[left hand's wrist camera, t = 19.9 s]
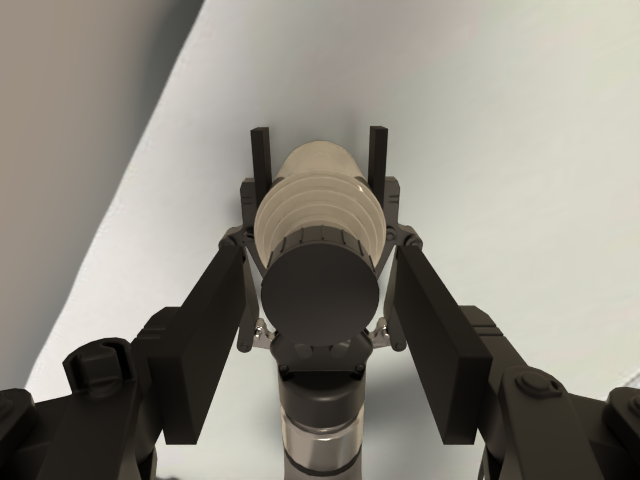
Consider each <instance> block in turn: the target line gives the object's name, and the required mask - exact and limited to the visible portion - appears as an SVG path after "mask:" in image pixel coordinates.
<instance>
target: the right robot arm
mask: <svg viewBox="0 0 640 480" xmlns="http://www.w3.org/2000/svg"><path fill="white" fill-rule="evenodd" d="M250 131H251V143H252V156H253V168H254V178H246V179H245V180H244V181H243V182H242V185H241V188H240V195H241V203H242V204H241V205H242V215H243V225H241V226H239V227H232V228H230V229H229V230H228V231H227V232H226V233H225V235H224V236H223V238H222V239H221V241H220V242H219V249H220V248H221V246H222V245H241V248H242V259H243V270H244V282H245V293H246V304H247V305H246V308H245V310H244V313H243V316H242V319H241V321H240V324H239V334H238V341H237V349H238V350H239V351H240V352H243V353H247V352H249V351H250V350H251V348H252V346H253V347H259V348H265V349H270V352H271V354H272V355H273V357H274V358H275V359H276V361H277V366H278V379H279V394H280V402H281V405H280V410H281V422H282V433H283V445H284V467H285V475H284V480H362V473H361V447H362V437H363V423H364V397H365V378H366V362H367V360H368V358H369V356H370V355H371V354H372V352H373V349H375V348H380V347H385V346H391V347H392V349H393V350H394V351H397V352H400V351H403V350H404V349H405V348H406V346H407V343H406V338H405V335H404V333H403V330H402V327H401V324H400V321H399V319H398V316H397V313H396V310H395V308H394V305H393V304H394V293H395V282H396V270H397V259H398V248H399V245H418V246H419V248H420V249H421V251H422V247H423V242H422V240H421V238H420V237H419V236H418V234H417V233H416V232H415V230H414V229H413V228H412V227H411V226H404V225H401V224H398V208H399V195H400V187H399V184H398V181H397V180H396V179H395V178H394V177H385V172H386V155H387V138H388V129H387V128H385V127H382V126H370V141H369V166H368V185H369V186H370V188H371V190H372V192H373V193H374V195H375V197H376V199H377V200H378V202H379V204H380V206H381V208H382V211H383V214H384V217H385V223H386V239H385V245H384V248H383V251H382V254H381V257H380V259H379V261H378V264H377V265H376V267H375V271H376V272H374V273H375V276H376V279H377V280H378V278H379V276H380V274H381V272H382V270H383V268H384V265H385V263H386V261H387V259H388V257H389V255H390V253H391V251H392V249H393V247H394V245H396V248H395V253H394V258H393V263H392V267H391V272H390V277H389V282H388V287H387V292H386V297H385V301H384V308H383V314H384V317H381V318H379V321H378V322H377V324H376V329H375V330H374V331H373V332H369V331H368V330H367V329H366V328H365V329H364V330H363V331H361V332H360V333H359V334H358V335H356V336H355V337H353V338H351V339H349V340H347V341H345V342H342V343H340V344H336V345H331V346H309V345H304V344H301V343H298V342H295V341H293V340H291V339H289V338H287V337H285V336H284V335H282V334H281V333H280V332H279V331H277V330H276V331H275V332H274V333H271V332H269V331H268V329H267V325H266V323H265V322H264V319H263V318H259V305H258V300H257V296H256V291H255V287H254V283H253V278H252V274H251V269H250V265H249V261H248V256H247V252H246V248H245V246H247V248H248V250H249V252H250V254H251V256H252V258H253V260H254V262H255V264H256V266H257V268H258V270H259V272H260V274H261V276H262V278H263V277H264V274H265V271H266V268H265V267H264V265H263V263H262V261H261V259H260V257H259V254H258V251H257V248H256V244H255V238H254V224H255V218H256V214H257V211H258V209H259V206H260V204H261V202H262V200H263V199H264V197H265V195H266V193H267V192H268V190H269V188H270V187H271V185H272V176H271V159H270V143H269V127H257V128H255V129H253V130H250Z"/></svg>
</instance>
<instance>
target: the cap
mask: <svg viewBox="0 0 640 480" xmlns="http://www.w3.org/2000/svg"><path fill="white" fill-rule="evenodd" d="M374 272H376V271H375V268H374V265H373V262H372V258H371V256H370V255H368V253H367V251H366V249H365V248H364V246H363V245H362V244H361V241H360V240H357V239H356V238H355V237H354V236H352V235H351V234H349V233H347V232H345V231H344V229H342V230H341V229H338V228H335V227H330V226H324V225H322V226H310V227H305V228H303V227H302V228H301V229H299V230H297V231H295V232H293V233H291V234H289V235H288V236H287V237H283V240H282V241H281V242H280V243H279V244H278V245H277V247H276V248H275V249H274V251H272V252H271V255H270V258H269V261H268V264H267V268H266V271H265V274H264V277H263V280H262V283H261V286H262V288H261V302H262V306H263V310H264V312H265V314H266V316H267V318H268V320H269V321H270V323H271V324H272V325H273V327H274V328H275V329H276V330H277V331H279V332H280V333H281V334H282V335H284V336H285V337H287V338H289V339H291V340H293V341H295V342H298V343H301V344H304V345H309V346H331V345H336V344H340V343H342V342H345V341H347V340H349V339H351V338H353V337H355V336H356V335H358V334H359V333H360V332H361V331H363V330H364V329H365V328H366V327H367V326H368V324H369V323H370V322H371V320H372V319H373V317H374V315H375V313H376V310H377V307H378V302H379V286H378V283H377V279H376V276H375V273H374Z"/></svg>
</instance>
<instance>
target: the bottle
mask: <svg viewBox="0 0 640 480" xmlns="http://www.w3.org/2000/svg"><path fill="white" fill-rule="evenodd" d="M322 225H324V226H330V227H335V228H338V229H341V230H342V229H344V231H345V232H347V233H349V234H351V235H352V236H354V237H355V238H356V239H357V240H360V241H361V244H362V245H363V246H364V248H365V249H366V251H367V253H368V255H370V256H371V258H372V262H373V265H374V268H375V267H376V265H377V264H378V261H379V259H380V257H381V254H382V251H383V248H384V245H385V239H386V223H385V217H384V214H383V211H382V208H381V206H380V204H379V202H378V200H377V199H376V197H375V195H374V193H373V192H372V190H371V188H370V186H369V185H368V183H367V181H366V179H365V178H364V176H363V174H362V173H361V171H360V169H359V167H358V166H357V164H356V162H355V160H354V159H353V157H352V156H351V155H350V154H349V153H348V152H347V151H346V150H345V149H344V148H342V147H341V146H339V145H337V144H334V143H332V142H327V141H313V142H309V143H306V144H303V145H301V146H299V147H298V148H296V149H295V150H294V151H293V152H292V153H291V154H290V155H289V156H288V157H287V159H286V161H285V162H284V164H283V166H282V167H281V169H280V171H279V173H278V174H277V176H276V178H275V180H274V181H273V183H272V185H271V187H270V188H269V190H268V192H267V193H266V195H265V197H264V199H263V200H262V202H261V204H260V206H259V209H258V211H257V214H256V218H255V224H254V238H255V244H256V248H257V251H258V254H259V257H260V259H261V261H262V263H263V265H264V267H265V268H267V264H268V261H269V258H270V255H271V252H272V251H274V249H275V248H276V247H277V245H278V244H279V243H280V242H281V241H282V240H283V237H287V236H288V235H289V234H291V233H293V232H295V231H297V230H299V229H301V228H302V227H303V228H305V227H310V226H322Z"/></svg>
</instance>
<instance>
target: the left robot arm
mask: <svg viewBox="0 0 640 480" xmlns="http://www.w3.org/2000/svg"><path fill="white" fill-rule="evenodd" d="M246 305H247V304H246V293H245V282H244V270H243V259H242V248H241V245H222V246H221V248H220V249H219V251H218V252H217V254H216V255H215V257H214V258H213V260H212V261H211V263H210V264H209V266H208V267H207V269H206V270H205V272H204V273H203V275H202V276H201V278H200V279H199V281H198V282H197V284H196V285H195V286H194V288H193V289H192V291H191V292H190V294H189V295H188V297H187V298H186V300H185V301H184V303H183V304H182V306H181V307H165V308H163V309H162V310H160V311H159V312H157V313H156V314H154V315H153V316H152V317H151V318H150V319H149V321H148V322H147V323H146V324H145V326H144V329H142V330H141V331H140V332H139V333H138V335H137V338H135V339H134V340H133V341H132V342H131V344H130V343H129V342H128V341H127V340H125V339H122V338H117V337H114V338H103V339H99V340H96V341H92V342H90V343H87V344H85V345H83V346H81V347H79V348H77V349H76V350H75V351H73V352H72V353H70V354H69V355H68V356H67V357H66V359H65V360H64V361H63V362H62V364H63V367H64V370H65V373H66V376H67V379H68V382H69V385H70V388H71V391H72V394H71V395H68V396H64V397H60V398H56V399H51V400H47V401H42V402H38V403H34V401H33V398H32V395H31V393H29V392H28V391H27V390H25V389H17V388H14V389H8V390H2V391H0V480H155V477H156V467H157V453H156V448H155V443H156V441H157V439H158V437H159V435H160V433H161V431H162V429H163V433H164V437H165V442H166V445H196V444H197V441H198V438H199V435H200V433H201V430H202V427H203V424H204V422H205V419H206V416H207V413H208V410H209V408H210V405H211V402H212V399H213V397H214V394H215V391H216V388H217V385H218V383H219V380H220V377H221V374H222V371H223V369H224V366H225V363H226V360H227V358H228V355H229V352H230V349H231V346H232V344H233V341H234V338H235V335H236V333H237V330H238V327H239V324H240V321H241V319H242V316H243V313H244V310H245V308H246ZM393 305H394V308H395V310H396V313H397V316H398V319H399V321H400V324H401V327H402V330H403V333H404V335H405V338H406V341H407V344H408V346H409V349H410V352H411V355H412V358H413V360H414V363H415V366H416V369H417V371H418V374H419V377H420V380H421V383H422V385H423V388H424V391H425V394H426V397H427V399H428V402H429V405H430V408H431V410H432V413H433V416H434V419H435V422H436V424H437V427H438V430H439V433H440V435H441V438H442V441H443V444H444V445H474V442H475V437H476V433H477V428H478V429H479V431H480V433H481V435H482V437H483V439H484V442H485V448H484V452H483V456H482V460H481V465H480V469H479V473H478V480H483V477H484V476H485V480H640V389H636V388H630V387H618V388H615V389H613V390H612V391H611V392H610V393H609V395H608V398H607V401H606V402H604V401H600V400H596V399H591V398H587V397H582V396H578V395H574V394H571V393H568V392H567V390H566V389H565V387H564V386H563V385H562V383H560V382H559V381H558V380H557V379H555V378H554V377H553V376H552V375H550V374H548V373H546V372H544V371H542V370H540V369H537V368H533V367H530V366H528V365H527V364H526V362H525V361H524V360H523V359H522V357H521V356H520V355H519V354H518V352H517V351H516V350H515V348H514V347H513V346H512V345H511V343H510V342H509V341H508V340H507V338H506V337H505V336H503V333H502V332H501V331H500V329H499V328H498V327H496V324H495V323H494V322H493V320H492V319H491V318H490V317H489V315H488V314H486V313H485V312H483V311H482V310H480V309H479V308H477V307H476V306H458V304H457V303H456V301H455V300H454V298H453V297H452V295H451V294H450V292H449V291H448V289H447V288H446V286H445V285H444V284H443V282H442V281H441V279H440V278H439V276H438V275H437V273H436V272H435V270H434V269H433V267H432V266H431V264H430V263H429V261H428V260H427V258H426V257H425V255H424V254H423V252H422V251H421V249H420V248H419V246H418V245H399V248H398V259H397V270H396V282H395V293H394V304H393Z"/></svg>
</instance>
